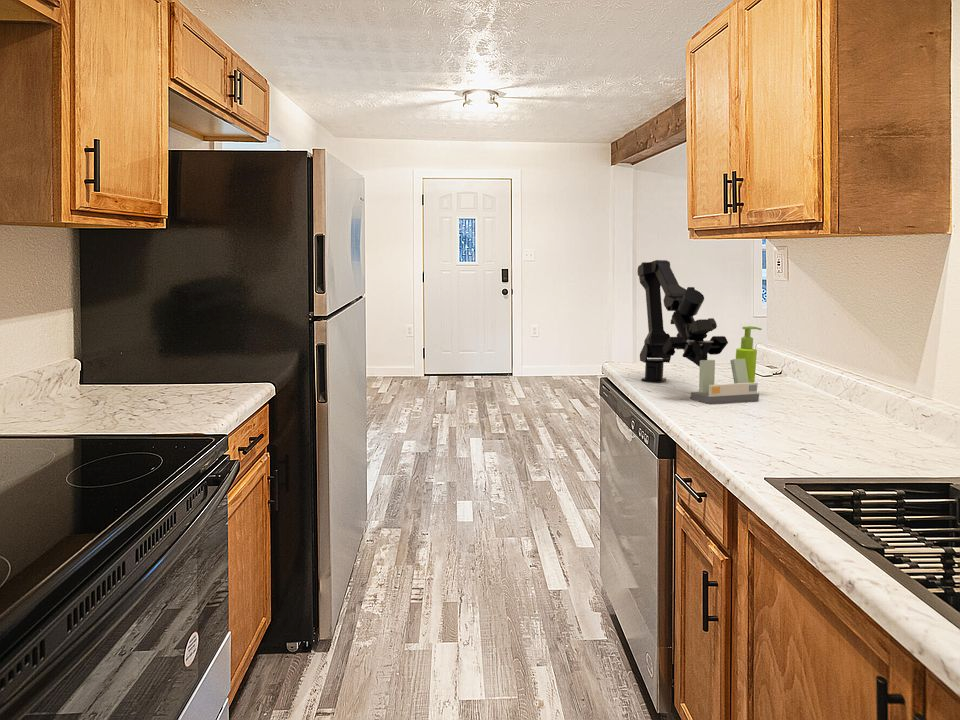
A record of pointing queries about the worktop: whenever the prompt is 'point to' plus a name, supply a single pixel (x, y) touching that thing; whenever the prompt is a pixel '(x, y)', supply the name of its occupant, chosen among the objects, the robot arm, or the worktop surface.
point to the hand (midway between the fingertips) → (705, 368)
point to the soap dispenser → (748, 353)
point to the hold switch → (739, 371)
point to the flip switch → (706, 375)
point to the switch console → (728, 393)
